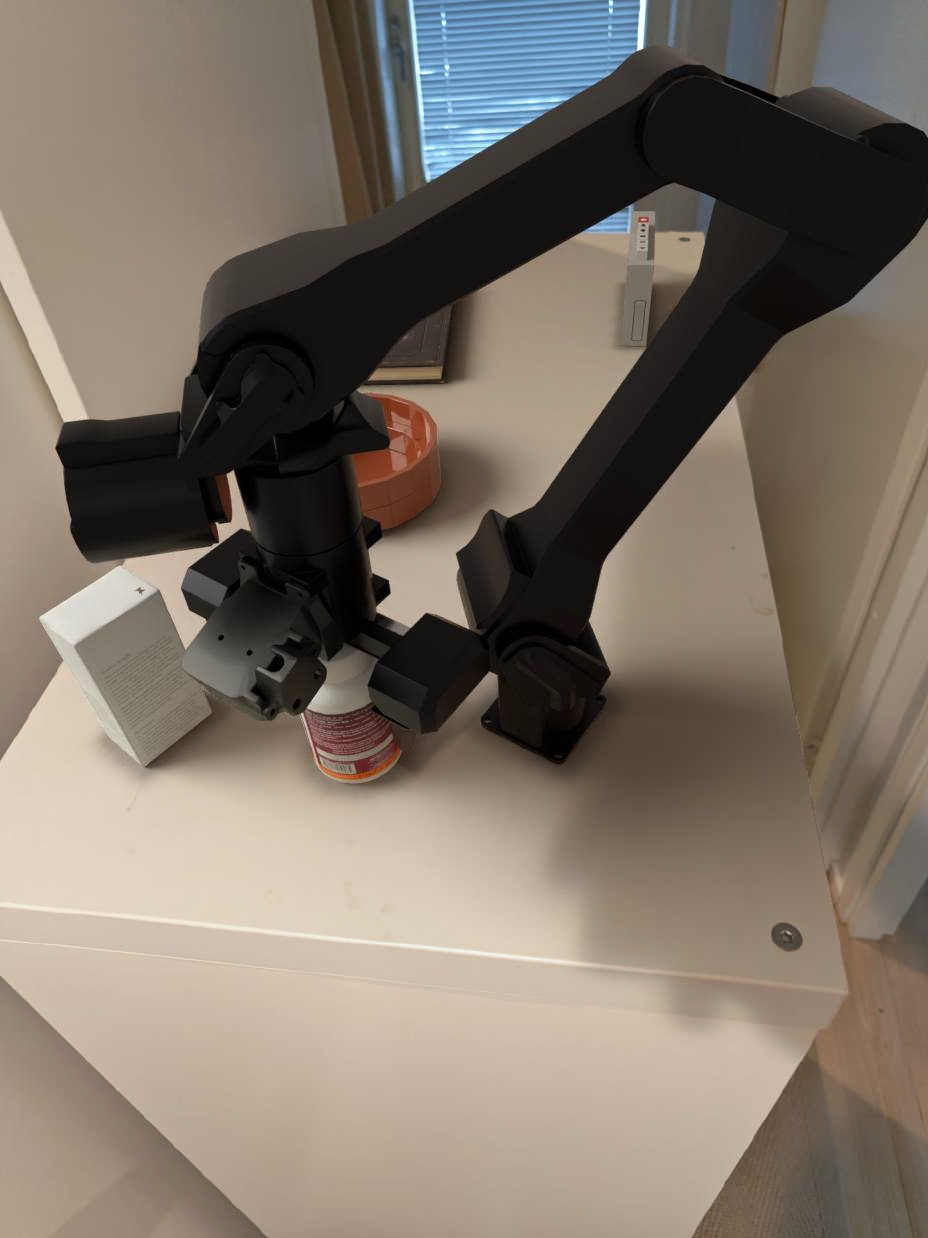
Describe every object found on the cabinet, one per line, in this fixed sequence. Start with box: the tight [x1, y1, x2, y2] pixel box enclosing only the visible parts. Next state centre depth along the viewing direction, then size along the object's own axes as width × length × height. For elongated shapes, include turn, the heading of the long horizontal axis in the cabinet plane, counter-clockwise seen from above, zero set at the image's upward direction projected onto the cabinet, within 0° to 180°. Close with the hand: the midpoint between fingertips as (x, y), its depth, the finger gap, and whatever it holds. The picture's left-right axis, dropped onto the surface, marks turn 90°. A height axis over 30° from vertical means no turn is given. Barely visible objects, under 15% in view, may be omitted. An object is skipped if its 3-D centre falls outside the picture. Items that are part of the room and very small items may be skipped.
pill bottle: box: [299, 643, 403, 784], centre depth 53 cm, size 6×6×11 cm
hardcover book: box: [362, 303, 457, 386], centre depth 99 cm, size 16×23×2 cm
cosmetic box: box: [39, 565, 213, 768], centre depth 55 cm, size 6×4×12 cm
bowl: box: [353, 392, 442, 531], centre depth 76 cm, size 15×15×6 cm
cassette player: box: [621, 210, 656, 347], centre depth 97 cm, size 16×3×10 cm, turn 171°
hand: (350, 714), depth 54 cm, fingers open, 9 cm apart
